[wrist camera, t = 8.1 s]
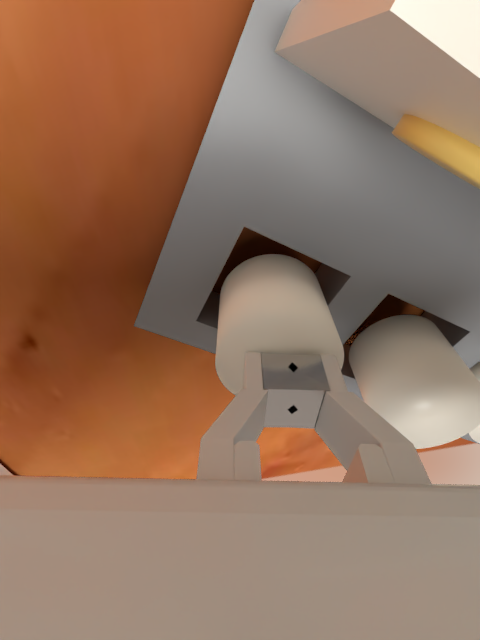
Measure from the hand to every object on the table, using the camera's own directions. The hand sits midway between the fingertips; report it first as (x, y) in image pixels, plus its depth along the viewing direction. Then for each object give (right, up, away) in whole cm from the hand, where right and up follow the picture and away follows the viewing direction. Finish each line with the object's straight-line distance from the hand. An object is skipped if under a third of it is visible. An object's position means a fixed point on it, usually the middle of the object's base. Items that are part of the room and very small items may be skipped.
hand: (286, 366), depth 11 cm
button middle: (+6, 0, +5) cm, 8 cm away
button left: (0, +2, +3) cm, 4 cm away
